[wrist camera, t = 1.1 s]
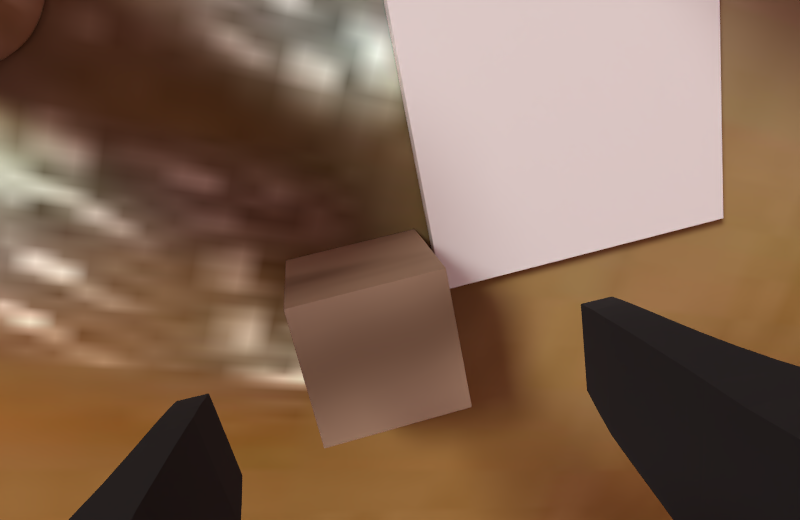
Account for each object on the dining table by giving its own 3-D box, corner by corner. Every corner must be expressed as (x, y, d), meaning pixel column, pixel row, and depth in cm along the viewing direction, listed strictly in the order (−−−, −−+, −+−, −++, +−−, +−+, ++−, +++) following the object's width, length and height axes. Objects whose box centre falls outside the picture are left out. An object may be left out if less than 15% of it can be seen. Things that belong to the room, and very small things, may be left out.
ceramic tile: (713, 214, 24) (723, 218, 24) (438, 285, 23) (442, 290, 22) (705, -110, 20) (717, -115, 20) (374, -46, 19) (377, -50, 19)
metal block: (436, 342, 24) (471, 406, 19) (318, 374, 23) (324, 448, 19) (414, 228, 22) (446, 268, 18) (285, 259, 22) (283, 309, 17)
